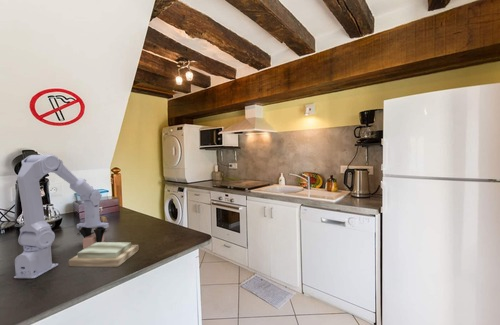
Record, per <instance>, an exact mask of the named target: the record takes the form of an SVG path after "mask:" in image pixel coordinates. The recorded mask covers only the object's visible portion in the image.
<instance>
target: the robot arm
mask: <svg viewBox="0 0 500 325" xmlns="http://www.w3.org/2000/svg"><path fill="white" fill-rule="evenodd" d="M49 173H52V174H55V175H57V176H58V177H59V178H61V179H62V180H64V181H65V182H66V183H68V184H69V188H70V189H71V190H72V191H73V192H75V193H76V194H77V195H78V196H79V199H80V200H81V201H83V209H84V222H85V223H84V222H79V223H77V224H76V229H79V230H78V233H79V232H80V233H79V234H80V235H82V237H83V238H85V237H88V236H90V235H92V230H93V232H94V233H95V235H96V241H97V242H102V237H103V234H104V235H105V231H106V230H107V228H110V225H109V224H110V223H109V222H107V223H104V222H101V221H100V203H101V198H102V194H101V192H100V190H98V189H94V187H93V186H92V185H90V184H89V183H87V180H86V179H85V178H84V179H83V178H78V177H77V176H76V175H74V174H73V173H72V171H70V170H69V168H68V167H67V166H66V165H65V164H64V162H63V160H61V159H60V158H59V157H58V156H57V155H55V154H53V153H51V154H30V155H28V156H26V157H25V158H24V159H22V160H21V167H20V169H19V171H18V174H17V177H16V180H17V186H18V191H19V192H18V193H19V197H20V202H21V210H22V217H23V223H24V225H23V226H22V227H20V228H19V236H18V244H19V245H20V246H23V252H22V253H20V254H19V255H17V256H16V257H15V259H14V267H15V268H14V270H15V271H14V272H15V275H14V276H13V278H14V279H35V278H37V277H39V276H41V275H43V274H45V273H47V272H48V271H50V270H52V269H54V268H56V267H57V266H59V263H53V261H52V259H53V258H52V247H51V246H52V244H53V242H54V241H55V238H56V234H55V232H54V231H53V230H52V227H51V225H50V224H49V222H48V221H46V218H45V211H44V206H43V205H44V204H43V199H42V193H41V186H40V185H41V184H40V180H41V179H43V177H44V176H46V175H47V174H48V175H49ZM92 228H97V229H92Z"/></svg>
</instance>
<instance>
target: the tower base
mask: <svg viewBox="0 0 500 325" xmlns="http://www.w3.org/2000/svg"><path fill="white" fill-rule="evenodd" d="M139 250H140V249H139V244H132V242H128V241H125V242H124V241H122V242H121V241H119V242H117V241H116V242H114V241H112V242H111V241H110V242H109V241H107V242H106V241H104V242H96V243H94V244H92V245H91V246H89V247H87V248H85V249H83V248H82V250H80V251H78V252H77V255H75V256H73V257H71V258H70V259H69V260H68V267H87V268H88V267H89V268H90V267H95V268H96V267H97V268H98V267H99V268H101V267H102V268H105V267H106V268H107V267H111V268H114V267H115V268H117V267H119V266H121V265H122V264H123V263H124V262H126V261H127V260H129V259H130V258H131V257H132V256H133V255H135V254H136V253H137V252H138V251H139Z"/></svg>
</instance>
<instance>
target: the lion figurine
mask: <svg viewBox="0 0 500 325" xmlns="http://www.w3.org/2000/svg"><path fill="white" fill-rule="evenodd" d="M100 221H101V222H104V223H108V219H107V217H106V216H101V217H100ZM83 223H85V221H84V222H83ZM95 229H97V228H92V230H95ZM79 234H81V233H80V232H79V231H78V232H77V234H76V235H79Z"/></svg>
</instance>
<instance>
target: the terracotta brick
mask: <svg viewBox="0 0 500 325" xmlns="http://www.w3.org/2000/svg"><path fill="white" fill-rule="evenodd" d="M96 242H97V241H96V235H95V232H94V233H91V235H90V236H88V237H85V238H84V237H83V238H82V250H83V249H85V248H87V247H89V246H91V245H92V244H94V243H96ZM102 242H105V233H104V234H103V237H102Z"/></svg>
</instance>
